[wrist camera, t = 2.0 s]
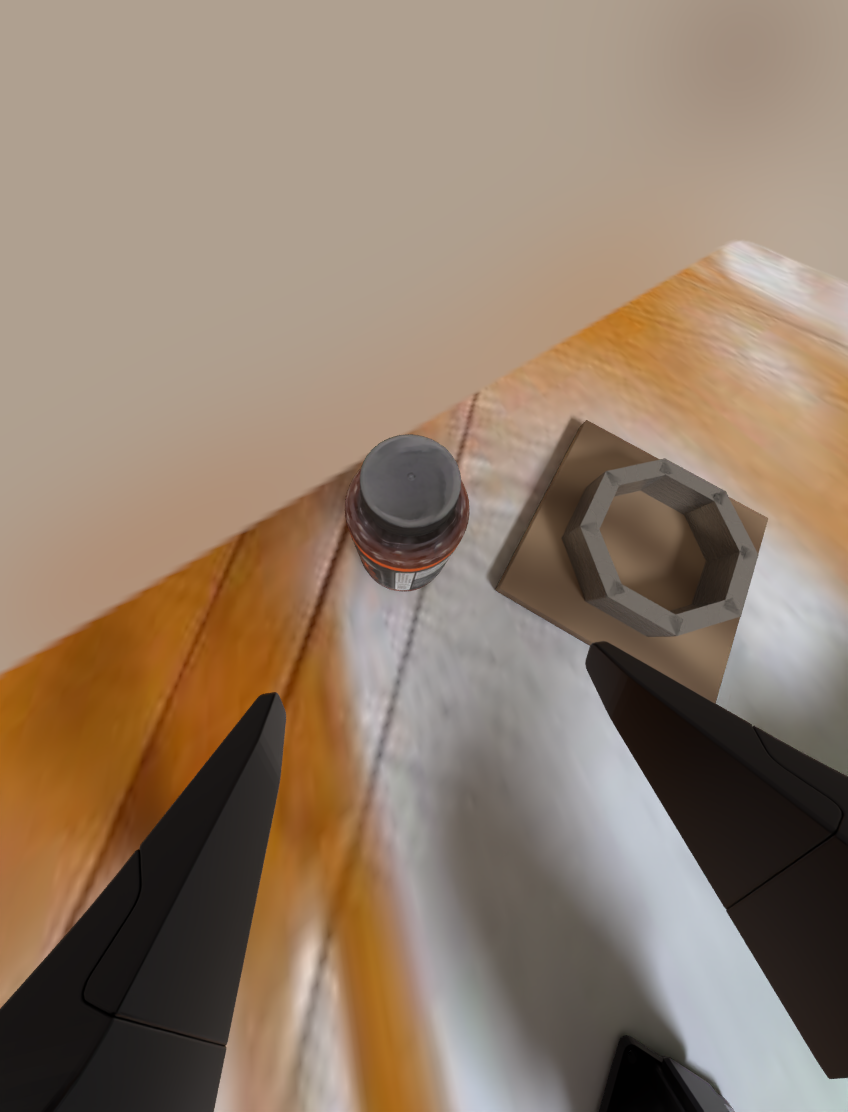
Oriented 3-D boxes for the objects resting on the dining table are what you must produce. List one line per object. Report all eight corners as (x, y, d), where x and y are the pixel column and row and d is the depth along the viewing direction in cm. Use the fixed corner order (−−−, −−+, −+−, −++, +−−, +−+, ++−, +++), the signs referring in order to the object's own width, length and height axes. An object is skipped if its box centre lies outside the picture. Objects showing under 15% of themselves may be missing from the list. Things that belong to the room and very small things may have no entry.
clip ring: (691, 662, 22) (727, 665, 20) (542, 576, 23) (559, 569, 20) (734, 527, 25) (770, 515, 23) (601, 454, 26) (622, 435, 23)
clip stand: (699, 709, 22) (712, 712, 22) (495, 590, 23) (499, 588, 22) (754, 522, 27) (768, 518, 26) (579, 427, 28) (586, 419, 27)
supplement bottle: (348, 532, 24) (308, 437, 13) (422, 501, 25) (444, 390, 14) (381, 607, 22) (369, 575, 12) (458, 572, 24) (513, 512, 13)
